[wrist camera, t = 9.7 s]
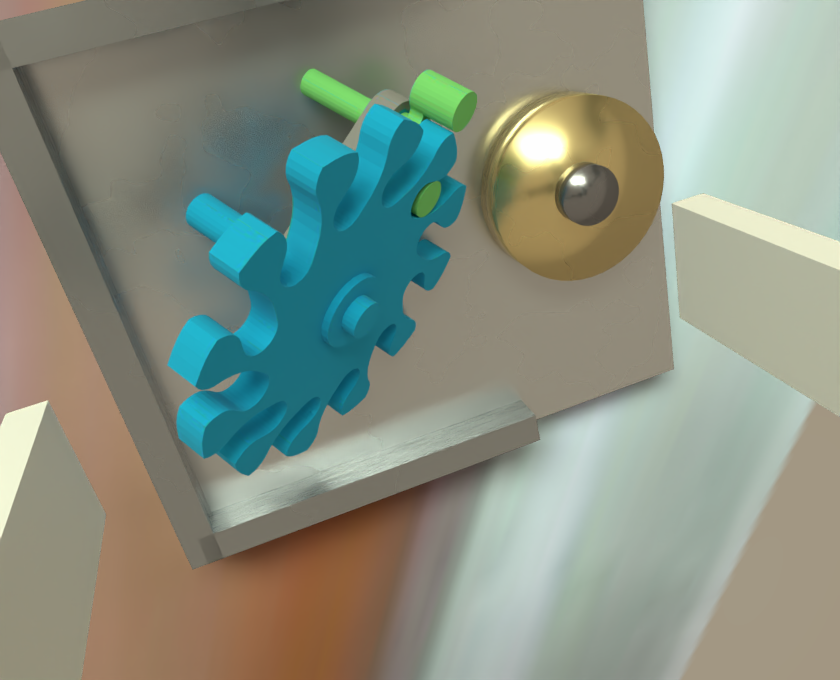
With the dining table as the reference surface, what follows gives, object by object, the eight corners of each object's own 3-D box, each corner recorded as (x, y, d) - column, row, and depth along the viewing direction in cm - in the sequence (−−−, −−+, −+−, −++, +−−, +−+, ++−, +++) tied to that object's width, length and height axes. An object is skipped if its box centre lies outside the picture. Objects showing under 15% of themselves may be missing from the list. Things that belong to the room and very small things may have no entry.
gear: (335, 486, 24) (130, 496, 14) (200, 383, 26) (-58, 332, 16) (529, 186, 24) (454, -6, 14) (380, 105, 26) (225, -112, 16)
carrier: (609, -120, 22) (669, -139, 20) (655, 356, 29) (704, 389, 27) (-30, 32, 19) (-62, 33, 17) (190, 525, 26) (193, 581, 23)
